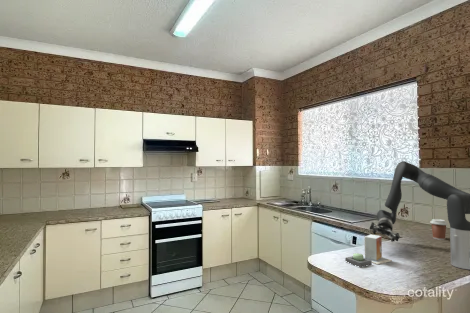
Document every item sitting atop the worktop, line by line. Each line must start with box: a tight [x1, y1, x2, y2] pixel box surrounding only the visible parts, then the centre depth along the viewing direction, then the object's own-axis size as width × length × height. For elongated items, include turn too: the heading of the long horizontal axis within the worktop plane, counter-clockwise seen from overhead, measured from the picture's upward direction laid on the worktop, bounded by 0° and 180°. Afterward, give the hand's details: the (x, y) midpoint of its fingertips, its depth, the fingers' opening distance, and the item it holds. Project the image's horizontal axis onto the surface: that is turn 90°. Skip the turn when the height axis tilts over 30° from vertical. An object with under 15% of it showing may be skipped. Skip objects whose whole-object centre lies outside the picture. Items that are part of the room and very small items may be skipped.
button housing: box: [344, 255, 373, 268], centre depth 129 cm, size 8×8×2 cm
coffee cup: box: [429, 218, 449, 241], centre depth 177 cm, size 9×9×12 cm
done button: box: [352, 252, 364, 261], centre depth 129 cm, size 4×4×2 cm
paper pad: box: [363, 256, 393, 266], centre depth 134 cm, size 11×11×1 cm
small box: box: [364, 233, 383, 261], centre depth 135 cm, size 8×6×10 cm
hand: (383, 236), depth 141 cm, fingers open, 8 cm apart
